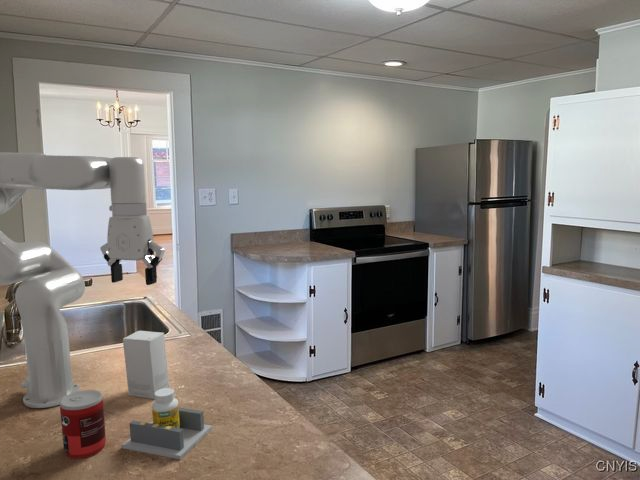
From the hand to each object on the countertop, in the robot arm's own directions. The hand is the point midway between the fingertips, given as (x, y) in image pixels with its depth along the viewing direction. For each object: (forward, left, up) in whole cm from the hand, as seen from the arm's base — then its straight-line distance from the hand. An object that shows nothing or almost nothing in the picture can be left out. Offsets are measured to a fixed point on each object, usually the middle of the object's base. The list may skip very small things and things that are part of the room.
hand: (134, 282), depth 115 cm
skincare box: (-2, +5, -31) cm, 31 cm away
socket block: (+16, -12, -30) cm, 36 cm away
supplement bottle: (+16, -12, -30) cm, 36 cm away
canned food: (+2, -20, -31) cm, 37 cm away
